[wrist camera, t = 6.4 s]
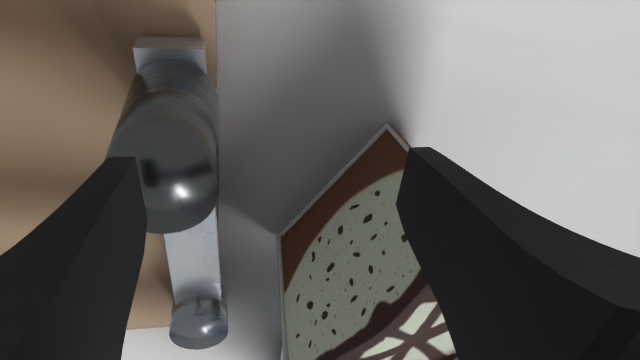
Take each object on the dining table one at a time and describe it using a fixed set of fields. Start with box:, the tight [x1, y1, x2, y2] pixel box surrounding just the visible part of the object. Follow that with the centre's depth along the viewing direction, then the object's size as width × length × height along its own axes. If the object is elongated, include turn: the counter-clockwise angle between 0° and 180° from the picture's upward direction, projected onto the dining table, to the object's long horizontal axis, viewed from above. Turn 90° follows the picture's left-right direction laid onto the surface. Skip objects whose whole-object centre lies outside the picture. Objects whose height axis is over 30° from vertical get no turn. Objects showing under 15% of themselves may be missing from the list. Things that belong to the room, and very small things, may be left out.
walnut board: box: [0, 0, 218, 330], centre depth 21 cm, size 20×12×2 cm, turn 173°
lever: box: [104, 36, 228, 349], centre depth 19 cm, size 16×3×7 cm, turn 175°
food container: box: [277, 123, 458, 360], centre depth 22 cm, size 12×6×10 cm, turn 139°
